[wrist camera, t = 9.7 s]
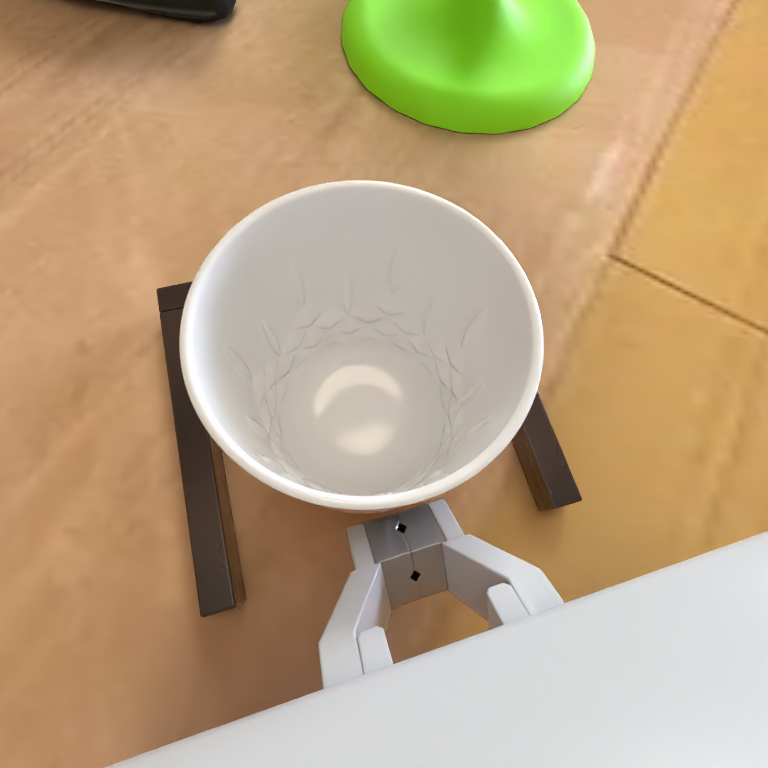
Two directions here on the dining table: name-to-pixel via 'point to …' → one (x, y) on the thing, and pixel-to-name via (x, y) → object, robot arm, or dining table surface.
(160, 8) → the mobile phone
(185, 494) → the walnut frame
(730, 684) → the robot arm
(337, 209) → the white cup
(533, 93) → the wineglass
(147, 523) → the dining table surface
